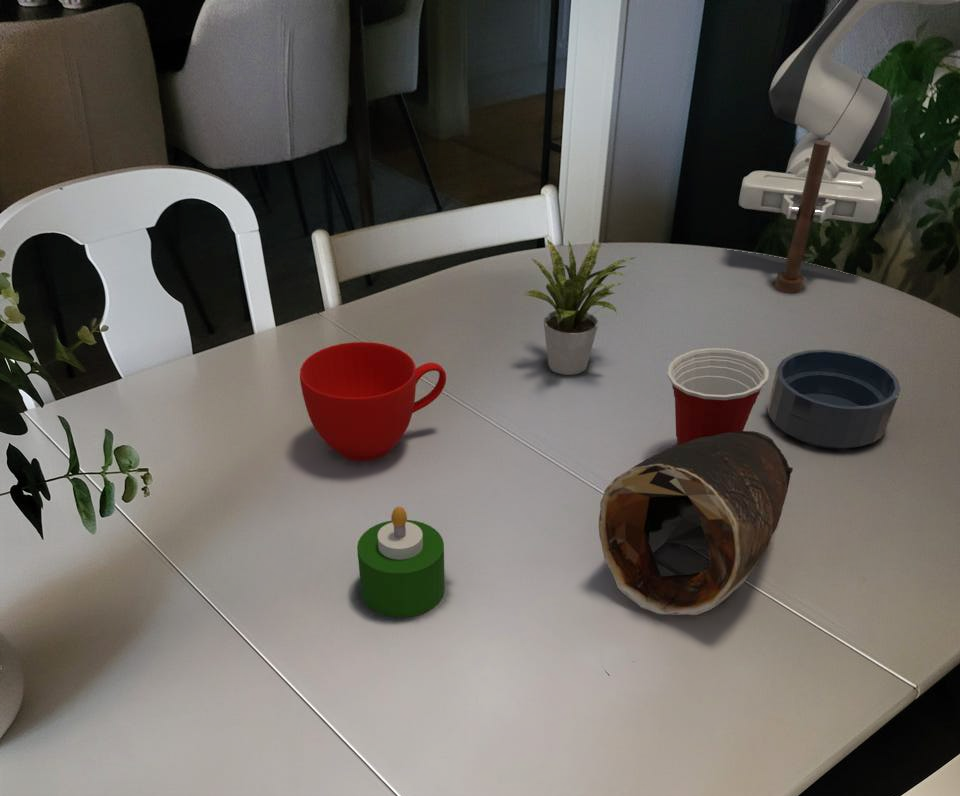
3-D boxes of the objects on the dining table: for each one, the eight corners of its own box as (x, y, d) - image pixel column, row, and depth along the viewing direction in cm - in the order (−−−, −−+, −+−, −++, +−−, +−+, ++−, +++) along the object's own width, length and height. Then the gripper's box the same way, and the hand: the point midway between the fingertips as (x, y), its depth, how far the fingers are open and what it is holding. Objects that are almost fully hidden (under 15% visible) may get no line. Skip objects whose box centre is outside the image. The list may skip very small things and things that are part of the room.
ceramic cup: (466, 456, 114) (466, 378, 107) (326, 486, 109) (317, 408, 102) (427, 402, 123) (425, 328, 116) (296, 429, 118) (286, 353, 111)
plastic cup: (649, 435, 118) (663, 343, 110) (739, 437, 118) (759, 345, 109) (658, 487, 110) (674, 392, 102) (754, 489, 110) (778, 394, 102)
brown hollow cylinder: (845, 410, 100) (756, 482, 82) (816, 546, 108) (729, 639, 90) (709, 385, 107) (600, 447, 89) (691, 514, 115) (588, 595, 97)
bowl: (857, 390, 126) (870, 347, 122) (904, 449, 116) (920, 405, 112) (751, 395, 125) (761, 352, 121) (790, 456, 115) (802, 411, 111)
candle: (343, 591, 96) (334, 509, 90) (401, 552, 101) (397, 471, 94) (404, 629, 93) (400, 546, 86) (461, 586, 97) (461, 504, 90)
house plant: (619, 402, 123) (635, 276, 112) (511, 391, 125) (516, 266, 114) (626, 349, 134) (641, 229, 122) (526, 340, 135) (532, 220, 124)
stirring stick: (796, 281, 150) (831, 137, 136) (805, 292, 147) (842, 146, 133) (771, 282, 150) (803, 138, 136) (780, 293, 147) (814, 147, 133)
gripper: (748, 154, 150) (737, 184, 141) (886, 169, 146) (884, 201, 136) (740, 196, 154) (728, 228, 145) (874, 213, 150) (871, 246, 140)
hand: (805, 215), depth 140 cm, fingers closed
